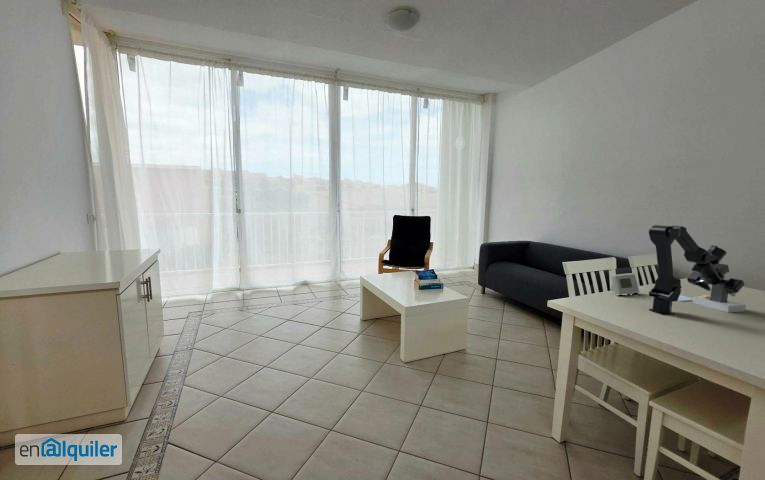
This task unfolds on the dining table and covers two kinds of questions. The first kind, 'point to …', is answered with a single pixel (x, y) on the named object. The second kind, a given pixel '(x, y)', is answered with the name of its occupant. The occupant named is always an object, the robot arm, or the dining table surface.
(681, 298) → the pad
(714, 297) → the plug
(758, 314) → the dining table surface
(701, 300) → the white flat block
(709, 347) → the dining table surface
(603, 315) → the dining table surface
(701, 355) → the dining table surface
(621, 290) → the digital clock
